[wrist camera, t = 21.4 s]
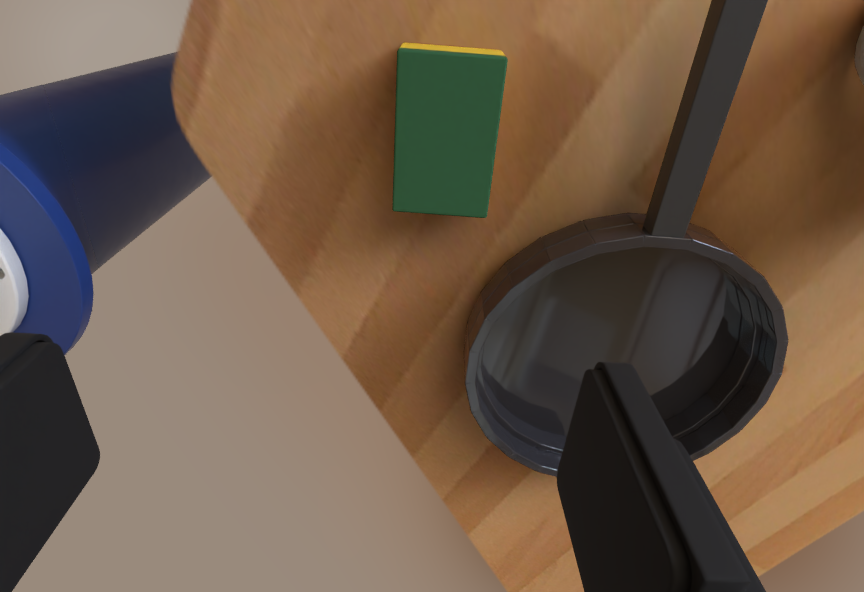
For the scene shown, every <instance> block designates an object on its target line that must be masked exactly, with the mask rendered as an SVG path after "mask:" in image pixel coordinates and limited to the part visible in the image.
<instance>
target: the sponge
mask: <svg viewBox="0 0 864 592" xmlns="http://www.w3.org/2000/svg"><path fill="white" fill-rule="evenodd" d="M507 61H508V60H507V58H506V56H505V55H504V54H503V53H502V51H501V50H494V49H481V48H468V47H455V46H442V45H430V44H417V43H403V44H402V45H401V46H400V48H399V49H398V51H397V77H396V110H395V143H394V176H393V208H392V209H393V211H397V212H411V213H424V214H438V215H452V216H465V217H479V218H486V217H487V212H488V204H489V197H490V189H491V182H492V174H493V167H494V159H495V151H496V144H497V136H498V129H499V121H500V114H501V106H502V98H503V91H504V83H505V76H506V68H507Z"/></svg>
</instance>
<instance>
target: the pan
mask: <svg viewBox="0 0 864 592" xmlns="http://www.w3.org/2000/svg"><path fill="white" fill-rule="evenodd" d="M646 215H647V214H638V213H623V214H617V215H611V216H605V217H599V218H593V219H587V220H583V221H579V222H577V223H574V224H572V225H570V226H567V227H565V228H562V229H560V230H557V231H555V232H553V233H550V234H548V235H545V236H543V237H542V238H541V237H540V238H539V239H537V240H536V241H535V242H533V243H532V244H530V245H529V246H528V247H526V248H525V249H523V250H522V251H521V252H519V253H518V254H516V255H515V256H514V257H512V258H511V259H509V260H508V261H507V262H506V263H505V264H504V265H503V267H502V268H501V269H500V270H499V271H498V272H497V274H496V275H495V276H494V277H493V278H492V280H491V281H490V282H489V283H488V284H487V285H486V287H485V288H484V289H483V290H482V292H481V294H480V296H479V298H478V300H477V302H476V304H475V307H474V309H473V311H472V313H471V315H470V317H469V320H468V322H467V329H466V337H465V344H464V373H465V386H466V391H467V395H468V400H469V405H470V410H471V413H472V414H473V416H474V418H475V419H476V421H477V423H478V424H479V426H480V428H481V429H482V431H483V433H484V434H485V436H486V437H487V438H488V439H489V440H490V441H491V442H492V443H493V444H494V445H496V446H497V447H498V448H499V449H500V450H501V451H502V452H503V453H504V454H506V455H507V456H508V457H509V458H511V459H513V460H515V461H517V462H519V463H521V464H523V465H525V466H527V467H529V468H531V469H533V470H535V471H537V472H540V473H544V474H548V475H551V476H555V477H557V471H558V466H559V463H560V459H561V456H562V452H563V448H564V445H565V441H566V437H567V434H568V430H569V427H570V423H571V419H572V416H573V412H574V409H575V405H576V401H577V398H578V394H579V391H580V387H581V383H582V380H583V376H584V373H585V371H586V370H588V369H594V367H595V365H596V364H597V363H598V362H615V363H630V364H632V365H633V367H634V368H635V370H636V371H637V373H638V375H639V377H640V379H641V381H642V382H643V384H644V386H645V388H646V390H647V392H648V393H649V395H650V397H651V399H652V401H653V403H654V404H655V406H656V408H657V410H658V412H659V414H660V415H661V417H662V419H663V421H664V423H665V425H666V426H667V428H668V430H669V432H670V434H671V436H672V437H673V439H676V440H678V441H679V442H681V443H682V445H683V446H684V447H685V449H686V450H687V452H688V454H689V455H690V457H691V459H692V461H694V460H696V459H698V458H700V457H702V456H704V455H707V454H709V453H710V452H712V451H713V450H715V449H716V448H718V447H719V446H720V445H722V444H723V443H725V442H726V441H727V440H729V439H730V438H732V437H733V436H734V435H736V434H737V433H739V432H740V431H741V430H742V429H743V428H744V427H745V426H746V425H747V424H748V422H749V421H750V420H751V419H752V418H753V417H754V416H755V415H756V414H757V413H758V412H759V411H760V409H761V408H762V407H763V406H764V405H765V404H766V402H767V401H768V399H769V397H770V395H771V393H772V391H773V390H774V388H775V386H776V384H777V382H778V380H779V378H780V377H781V375H782V371H783V366H784V361H785V356H786V351H787V345H788V335H787V329H786V323H785V317H784V311H783V307H782V305H781V303H780V301H779V300H778V298H777V297H776V295H775V293H774V292H773V290H772V288H771V287H770V285H769V284H768V282H767V280H766V279H765V277H764V276H763V275H762V274H761V273H759V272H758V271H757V270H756V269H755V268H754V267H753V266H752V265H751V264H750V263H749V262H747V261H746V260H745V259H744V258H743V257H742V256H741V255H740V254H739V253H738V252H737V251H735V250H734V249H733V248H731V247H730V246H729V245H728V244H726V243H725V242H724V241H722V240H721V239H720V238H718V237H717V236H716V235H715V234H713V233H712V232H711V231H709V230H707V229H705V228H702V227H699V226H696V225H694V224H691V223H689V225H688V228H687V230H686V233H685V236H684V238H681V237H668V236H654V235H650V233H649V232H648V231H647V230H646V228H645V227H644V226H643V225H644V221H645V218H646Z"/></svg>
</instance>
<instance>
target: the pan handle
mask: <svg viewBox="0 0 864 592" xmlns="http://www.w3.org/2000/svg"><path fill="white" fill-rule="evenodd" d="M767 1H768V0H712V1H711V5H710V8H709V11H708V15H707V18H706V21H705V24H704V28H703V31H702V34H701V38H700V41H699V44H698V47H697V51H696V54H695V57H694V61H693V64H692V67H691V70H690V74H689V77H688V80H687V84H686V87H685V90H684V93H683V97H682V100H681V103H680V107H679V110H678V113H677V116H676V120H675V123H674V126H673V130H672V133H671V136H670V139H669V143H668V146H667V149H666V152H665V156H664V159H663V162H662V166H661V169H660V172H659V175H658V179H657V182H656V185H655V189H654V192H653V195H652V198H651V202H650V205H649V208H648V212H647V215H646V218H645V221H644V225H643V226H644V227H645V228H646V230H647V231H648V232H649V233H650V235H654V236H668V237H681V238H684V236H685V233H686V230H687V228H688V225H689V222H690V219H691V216H692V213H693V211H694V208H695V205H696V202H697V199H698V196H699V194H700V191H701V188H702V185H703V182H704V180H705V177H706V174H707V171H708V168H709V165H710V163H711V160H712V157H713V154H714V151H715V148H716V146H717V143H718V140H719V137H720V134H721V131H722V129H723V126H724V123H725V120H726V117H727V114H728V112H729V109H730V106H731V103H732V100H733V97H734V95H735V92H736V89H737V86H738V83H739V80H740V78H741V75H742V72H743V69H744V66H745V63H746V61H747V58H748V55H749V52H750V49H751V46H752V44H753V41H754V38H755V35H756V32H757V29H758V27H759V24H760V21H761V18H762V15H763V12H764V10H765V7H766V4H767Z"/></svg>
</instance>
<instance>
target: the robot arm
mask: <svg viewBox="0 0 864 592" xmlns="http://www.w3.org/2000/svg"><path fill="white" fill-rule="evenodd" d="M28 298H29V295H28V286H27V279H26V276H25V273H24V270H23V267H22V264H21V261H20V259H19V257H18V255H17V253H16V251H15V250H14V248H13V246H12V244H11V242H10V240H9V239H8V238H7V237H6V235H5V234H4V233H3V231H2V230H1V229H0V592H12V590H13V589H14V588H15V586H16V585H17V583H18V582H19V580H20V579H21V577H22V576H23V575H24V573H25V572H26V570H27V569H28V567H29V566H30V564H31V563H32V562H33V560H34V559H35V557H36V556H37V554H38V553H39V551H40V550H41V549H42V547H43V546H44V544H45V543H46V541H47V540H48V539H49V537H50V536H51V534H52V533H53V531H54V530H55V528H56V527H57V526H58V524H59V523H60V521H61V520H62V518H63V517H64V515H65V514H66V512H67V511H68V509H69V508H70V507H71V505H72V504H73V502H74V501H75V500H76V498H77V497H78V495H79V494H80V492H81V491H82V489H83V488H84V486H85V485H86V484H87V482H88V481H89V479H90V478H91V477H92V475H93V474H94V472H95V470H96V469H97V466H98V463H99V459H100V451H99V448H98V445H97V442H96V439H95V437H94V434H93V431H92V429H91V426H90V423H89V421H88V418H87V415H86V413H85V410H84V407H83V405H82V402H81V399H80V397H79V394H78V391H77V389H76V386H75V383H74V380H73V378H72V375H71V372H70V370H69V367H68V364H67V362H66V359H65V356H64V353H63V351H62V349H61V347H60V346H59V345H58V344H56V343H53V341H52V339H51V338H50V337H49V336H47V335H44V334H34V333H14V331H15V330H16V328H17V327H18V326H19V325H20V324H21V322H22V320H23V318H24V316H25V314H26V311H27V304H28ZM557 486H558V491H559V495H560V499H561V503H562V507H563V510H564V514H565V518H566V522H567V526H568V530H569V534H570V537H571V541H572V545H573V549H574V553H575V557H576V561H577V565H578V568H579V572H580V576H581V580H582V584H583V588H584V592H766V591H765V589H764V588H763V586H762V584H761V582H760V580H759V578H758V577H757V575H756V573H755V571H754V570H753V568H752V566H751V564H750V562H749V561H748V559H747V557H746V555H745V553H744V552H743V550H742V548H741V546H740V545H739V543H738V541H737V539H736V537H735V536H734V534H733V532H732V530H731V529H730V527H729V525H728V523H727V521H726V520H725V518H724V516H723V514H722V512H721V511H720V509H719V507H718V505H717V504H716V502H715V500H714V498H713V496H712V495H711V493H710V491H709V489H708V487H707V486H706V484H705V482H704V480H703V479H702V477H701V475H700V473H699V471H698V470H697V468H696V466H695V464H694V462H693V461H692V459H691V457H690V455H689V454H688V452H687V450H686V449H685V447H684V446H683V445H682V443H681V442H679V441H678V440H676V439H673V437H672V436H671V434H670V432H669V430H668V428H667V426H666V425H665V423H664V421H663V419H662V417H661V415H660V414H659V412H658V410H657V408H656V406H655V404H654V403H653V401H652V399H651V397H650V395H649V393H648V392H647V390H646V388H645V386H644V384H643V382H642V381H641V379H640V377H639V375H638V373H637V371H636V370H635V368H634V367H633V365H632V364H630V363H615V362H598V363H597V364H596V365H595V367H594V369H588V370H586V371H585V373H584V376H583V380H582V383H581V387H580V391H579V394H578V398H577V401H576V405H575V409H574V412H573V416H572V419H571V423H570V427H569V430H568V434H567V437H566V441H565V445H564V448H563V452H562V456H561V459H560V463H559V466H558V471H557Z"/></svg>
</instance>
